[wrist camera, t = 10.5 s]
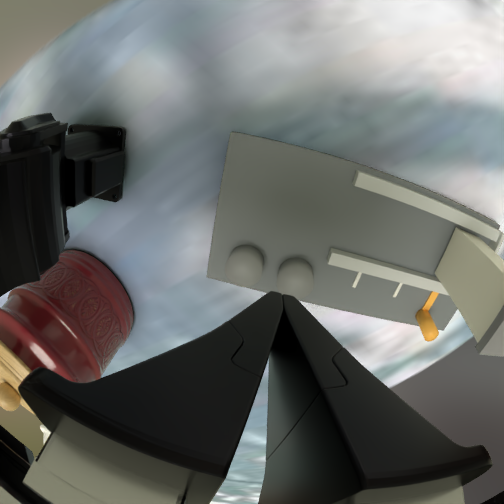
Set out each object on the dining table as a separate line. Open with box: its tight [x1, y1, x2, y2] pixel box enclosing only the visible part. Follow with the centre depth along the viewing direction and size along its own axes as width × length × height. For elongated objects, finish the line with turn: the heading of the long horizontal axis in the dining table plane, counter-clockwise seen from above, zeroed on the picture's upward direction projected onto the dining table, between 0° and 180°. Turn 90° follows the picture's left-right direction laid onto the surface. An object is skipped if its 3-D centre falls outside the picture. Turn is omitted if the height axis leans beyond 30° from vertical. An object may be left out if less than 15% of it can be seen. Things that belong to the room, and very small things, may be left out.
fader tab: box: [435, 227, 504, 356], centre depth 15 cm, size 3×5×10 cm
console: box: [207, 132, 504, 341], centre depth 20 cm, size 24×12×4 cm, turn 79°
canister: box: [0, 250, 134, 415], centre depth 21 cm, size 13×13×18 cm
